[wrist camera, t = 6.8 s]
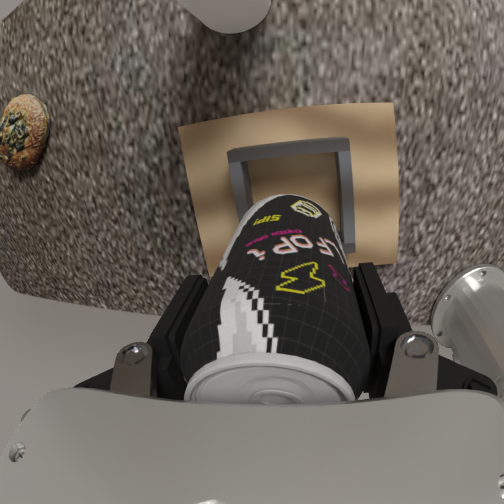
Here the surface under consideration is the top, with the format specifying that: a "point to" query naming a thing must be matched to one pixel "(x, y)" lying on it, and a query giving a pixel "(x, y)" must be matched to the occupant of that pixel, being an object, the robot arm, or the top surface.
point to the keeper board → (299, 173)
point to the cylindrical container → (228, 13)
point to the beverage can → (278, 314)
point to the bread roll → (23, 132)
